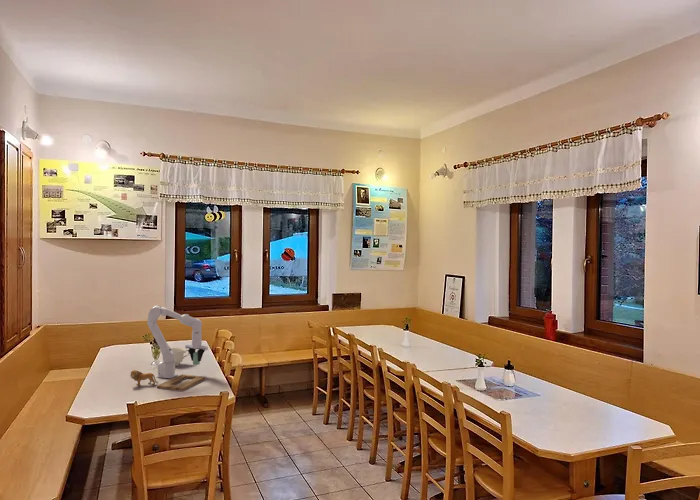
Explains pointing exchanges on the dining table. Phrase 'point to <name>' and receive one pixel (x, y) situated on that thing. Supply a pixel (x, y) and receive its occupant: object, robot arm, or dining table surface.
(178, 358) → the teacup
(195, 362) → the teal peg
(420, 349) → the dining table surface
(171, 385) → the brown wooden frame
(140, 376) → the lion figurine
